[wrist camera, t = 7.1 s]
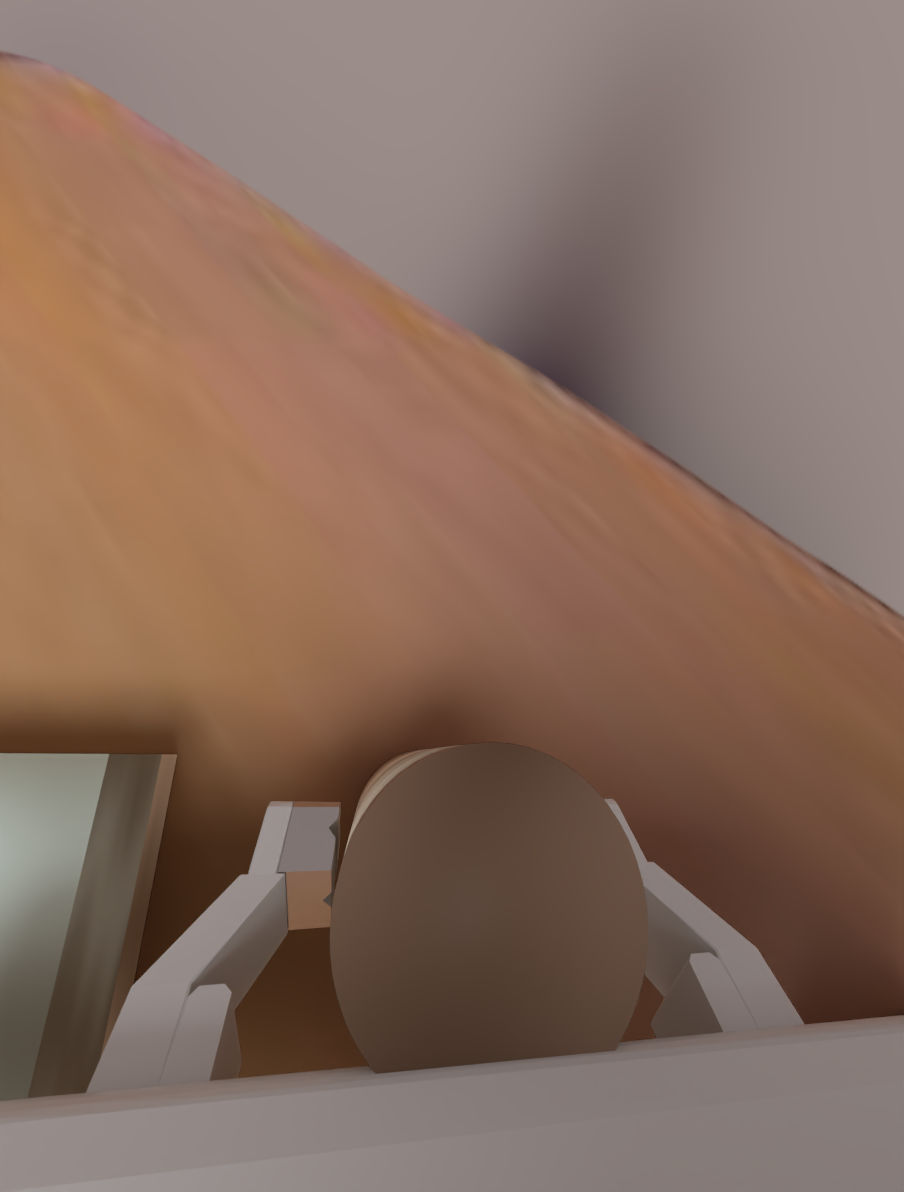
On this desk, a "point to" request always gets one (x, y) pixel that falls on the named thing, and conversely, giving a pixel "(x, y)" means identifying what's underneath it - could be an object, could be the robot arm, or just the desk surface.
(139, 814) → the notched board
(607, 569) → the desk surface
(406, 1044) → the brown and cream cylinder
